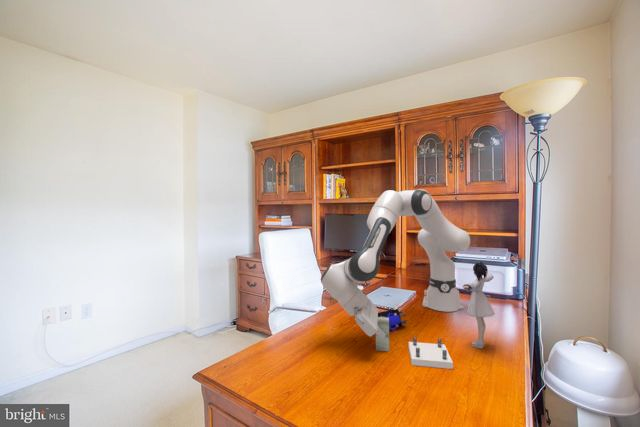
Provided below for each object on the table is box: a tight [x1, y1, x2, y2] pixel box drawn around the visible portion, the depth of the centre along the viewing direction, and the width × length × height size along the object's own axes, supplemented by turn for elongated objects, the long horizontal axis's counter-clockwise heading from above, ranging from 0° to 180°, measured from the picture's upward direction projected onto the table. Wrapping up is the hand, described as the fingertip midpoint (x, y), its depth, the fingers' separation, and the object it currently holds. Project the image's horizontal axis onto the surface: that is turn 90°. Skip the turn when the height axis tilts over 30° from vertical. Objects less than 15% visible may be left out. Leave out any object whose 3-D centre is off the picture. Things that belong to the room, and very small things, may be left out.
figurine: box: [461, 261, 496, 349], centre depth 104 cm, size 25×8×30 cm, turn 135°
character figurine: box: [378, 308, 408, 332], centre depth 121 cm, size 8×7×15 cm
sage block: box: [375, 317, 390, 352], centre depth 105 cm, size 4×4×10 cm
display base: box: [408, 336, 454, 370], centre depth 98 cm, size 12×12×4 cm
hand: (384, 332), depth 105 cm, fingers closed on sage block, 4 cm apart
